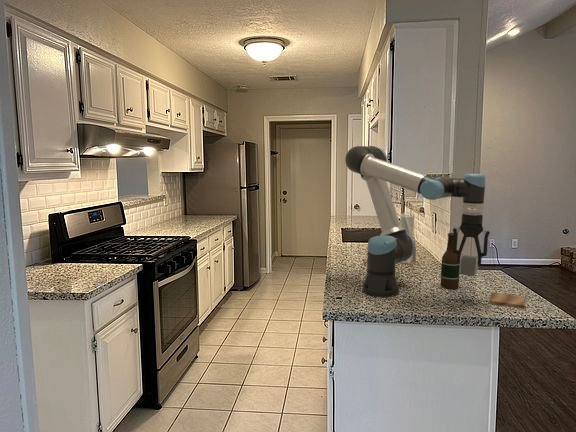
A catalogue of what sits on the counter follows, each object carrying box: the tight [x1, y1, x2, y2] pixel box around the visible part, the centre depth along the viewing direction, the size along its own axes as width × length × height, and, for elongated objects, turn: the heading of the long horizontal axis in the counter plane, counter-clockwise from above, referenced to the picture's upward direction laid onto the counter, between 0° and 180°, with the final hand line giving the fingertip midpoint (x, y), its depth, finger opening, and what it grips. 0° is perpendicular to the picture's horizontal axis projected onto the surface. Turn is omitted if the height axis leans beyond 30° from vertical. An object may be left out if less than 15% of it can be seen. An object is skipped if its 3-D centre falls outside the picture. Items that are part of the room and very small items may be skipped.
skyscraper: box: [398, 211, 417, 265], centre depth 234 cm, size 8×8×28 cm
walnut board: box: [488, 291, 525, 309], centre depth 173 cm, size 12×12×1 cm
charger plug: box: [459, 254, 477, 277], centre depth 173 cm, size 5×10×6 cm, turn 152°
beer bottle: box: [440, 232, 460, 290], centre depth 191 cm, size 8×8×24 cm
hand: (468, 271), depth 173 cm, fingers closed on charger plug, 5 cm apart
